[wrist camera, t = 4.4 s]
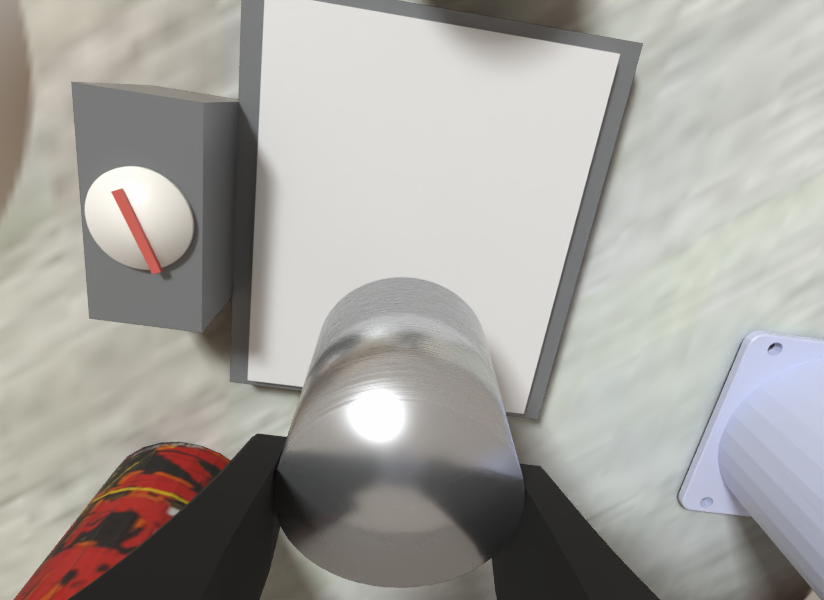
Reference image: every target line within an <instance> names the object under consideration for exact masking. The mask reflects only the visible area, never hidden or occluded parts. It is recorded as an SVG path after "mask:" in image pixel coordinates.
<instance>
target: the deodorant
mask: <svg viewBox="0 0 824 600" xmlns="http://www.w3.org/2000/svg"><path fill="white" fill-rule="evenodd" d="M229 462H230V460H228V459H227V458H225V457H224V456H222V455H221V454H219V453H217V452H215V451H212V450H210V449H207V448H205V447H203V446H199V445H194V444H188V443H183V442H168V443H158V444H155V445H151V446H147V447H143V448H142V449H140V450H138V451H136V452H135V453H133V454H131V455H129V456H128V457H127V458H126V459H125V460H124V461H123V462H122V463H121V464H120V465H119V467H118V468H117V469H116V470H115V471H114V473H113V474H112V475H111V476H110V478H109V479H108V480H107V482H106V483H105V484H104V485H103V487H102V488H101V489H100V490H99V492H98V493H97V494H96V496H95V497H94V498H93V499H92V501H91V502H90V503H89V504H88V506H87V507H86V508H85V509H84V511H83V512H82V513H81V515H80V516H79V517H78V518H77V520H76V521H75V522H74V523H73V525H72V526H71V527H70V529H69V530H68V531H67V532H66V534H65V535H64V536H63V537H62V539H61V540H60V541H59V543H58V544H57V545H56V546H55V548H54V549H53V550H52V551H51V553H50V554H49V555H48V557H47V558H46V559H45V560H44V562H43V563H42V564H41V565H40V567H39V568H38V569H37V571H36V572H35V573H34V574H33V576H32V577H31V578H30V579H29V581H28V582H27V583H26V584H25V586H24V587H23V588H22V590H21V591H20V592H19V593H18V595H17V596H16V597H15V598H14V600H67V599H68V598H70V597H71V596H73V595H74V594H76V593H77V592H79V591H80V590H82V589H83V588H84V587H86V586H87V585H89V584H90V583H91V582H93V581H94V580H95V579H97V578H98V577H99V576H101V575H102V574H103V573H105V572H106V571H107V570H109V569H110V568H111V567H113V566H114V565H115V564H117V563H118V562H119V561H121V560H122V559H123V558H124V557H126V556H127V555H128V554H129V553H131V552H132V551H133V550H134V549H136V548H137V547H138V546H139V545H141V544H142V543H143V542H144V541H145V540H147V539H148V538H149V537H150V536H151V535H152V534H154V533H155V532H156V531H157V530H158V529H159V528H160V527H162V526H163V525H164V524H165V523H166V522H167V521H169V520H170V519H171V518H172V517H173V516H174V515H175V514H177V513H178V512H179V511H180V510H181V509H182V508H183V507H184V506H185V505H187V504H188V503H189V502H190V501H191V500H192V499H193V498H194V497H195V496H196V495H197V494H198V493H199V492H200V491H201V490H202V489H203V488H204V487H205V486H206V485H207V484H208V483H209V482H210V481H211V480H213V479H214V478H215V477H216V475H217V474H218V473H219V472H220V471H221V470H222V469H223V468H224V467H225V466H226V465H227V464H228V463H229Z"/></svg>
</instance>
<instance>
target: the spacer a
mask: <svg viewBox="0 0 824 600" xmlns="http://www.w3.org/2000/svg"><path fill="white" fill-rule="evenodd" d="M524 503H525V487H524V481H523V476H522V472H521V468H520V464H519V461H518V457H517V453H516V450H515V446H514V442H513V438H512V435H511V431H510V427H509V424H508V420H507V416H506V412H505V409H504V405H503V401H502V398H501V394H500V390H499V386H498V383H497V379H496V375H495V372H494V368H493V364H492V360H491V357H490V353H489V349H488V346H487V342H486V338H485V334H484V331H483V328H482V325H481V323H480V321H479V319H478V318H477V316H476V314H475V313H474V312H473V310H472V309H471V307H470V306H469V305H468V304H467V303H466V302H465V301H464V300H463V299H462V298H460V297H459V296H458V295H457V294H455V293H454V292H452V291H450V290H449V289H447V288H445V287H443V286H441V285H439V284H436V283H434V282H430V281H427V280H424V279H418V278H410V277H394V278H386V279H381V280H376V281H373V282H370V283H367V284H365V285H363V286H361V287H358V288H356V289H355V290H353V291H352V292H350V293H349V294H347V295H346V296H345V297H343V298H342V299H341V300H340V301H339V302H338V303H337V304H336V305H335V306H334V307H333V309H332V310H331V311H330V313H329V314H328V316H327V317H326V319H325V321H324V324H323V326H322V328H321V331H320V334H319V338H318V341H317V344H316V347H315V350H314V354H313V357H312V360H311V363H310V366H309V369H308V373H307V376H306V379H305V382H304V385H303V389H302V392H301V395H300V398H299V401H298V404H297V408H296V411H295V414H294V417H293V420H292V423H291V427H290V430H289V433H288V436H287V439H286V443H285V446H284V449H283V452H282V455H281V458H280V462H279V465H278V468H277V471H276V475H275V478H274V484H273V504H274V509H275V513H276V517H277V519H278V521H279V524H280V526H281V528H282V530H283V531H284V533H285V535H286V536H287V538H288V539H289V540H290V542H291V543H292V544H293V545H294V546H295V547H296V548H297V550H299V551H300V552H301V553H302V554H303V555H304V556H305V557H306V558H308V559H309V560H311V561H312V562H313V563H315V564H316V565H318V566H319V567H321V568H323V569H325V570H327V571H329V572H330V573H333V574H335V575H338V576H340V577H342V578H345V579H348V580H351V581H355V582H358V583H363V584H368V585H372V586H381V587H397V588H404V587H419V586H425V585H432V584H436V583H440V582H444V581H448V580H450V579H453V578H456V577H459V576H461V575H464V574H466V573H468V572H470V571H472V570H474V569H476V568H477V567H479V566H481V565H482V564H484V563H485V562H487V561H488V560H489V559H491V558H492V557H493V556H495V555H496V554H497V553H498V552H499V551H500V550H501V549H502V548H503V547H504V546H505V544H506V543H507V542H508V541H509V539H510V538H511V537H512V535H513V533H514V532H515V530H516V528H517V526H518V524H519V521H520V518H521V515H522V513H523V508H524Z"/></svg>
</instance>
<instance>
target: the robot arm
mask: <svg viewBox="0 0 824 600" xmlns="http://www.w3.org/2000/svg"><path fill="white" fill-rule="evenodd" d="M773 343H775V346H774V347H773V348H772V349H770V350H768V348H769V346H770V345H771V344H773ZM286 439H287V437H282V436H273V435H265V434H256V435H255V436H253V437H252V438H251V439H250V440H249V441H248V442H247V443H246V445H245V446H244V447H243V448H242V449H241V450H240V451H239V452H238V453H237V455H236V456H235V457H234V458H233V459H232V460H231V461H230V462H229V463H228V464H227V465H226V466H225V467H224V468H223V469H222V470H221V471H220V472H219V473H218V474H217V475H216V477H215V478H214V479H213V480H211V481H210V482H209V483H208V484H207V485H206V486H205V487H204V488H203V489H202V490H201V491H200V492H199V493H198V494H197V495H196V496H195V497H194V498H193V499H192V500H191V501H190V502H189V503H188V504H187V505H185V506H184V507H183V508H182V509H181V510H180V511H179V512H178V513H177V514H175V515H174V516H173V517H172V518H171V519H170V520H169V521H167V522H166V523H165V524H164V525H163V526H162V527H160V528H159V529H158V530H157V531H156V532H155V533H154V534H152V535H151V536H150V537H149V538H148V539H147V540H145V541H144V542H143V543H142V544H141V545H139V546H138V547H137V548H136V549H134V550H133V551H132V552H131V553H129V554H128V555H127V556H126V557H124V558H123V559H122V560H121V561H119V562H118V563H117V564H115V565H114V566H113V567H111V568H110V569H109V570H107V571H106V572H105V573H103V574H102V575H101V576H99V577H98V578H97V579H95V580H94V581H93V582H91V583H90V584H89V585H87V586H86V587H84V588H83V589H82V590H80V591H79V592H77V593H76V594H74V595H73V596H71V597H70V598H68V599H67V600H259V599H260V596H261V593H262V590H263V588H264V585H265V582H266V579H267V576H268V573H269V570H270V567H271V562H272V558H273V554H274V550H275V546H276V542H277V538H278V533H279V529H280V524H279V521H278V519H277V517H276V513H275V509H274V504H273V484H274V478H275V475H276V471H277V468H278V465H279V462H280V458H281V455H282V452H283V449H284V446H285V443H286ZM520 468H521V472H522V476H523V481H524V487H525V503H524V508H523V513H522V515H521V518H520V521H519V524H518V526H517V528H516V530H515V532H514V533H513V535H512V537H511V538H510V539H509V541H508V542H507V543H506V544H505V546H504V547H503V548H502V549H501V550H500V551H499V552H498V553H497V554H496V555H495V556H493V557H492V565H493V574H494V583H495V592H496V596H497V600H660V599H659V598H658V597H657V596H656V595H655V594H654V593H653V592H652V591H651V590H650V589H649V588H648V587H647V586H646V585H645V584H644V583H643V582H642V581H641V580H640V579H639V578H638V577H637V576H636V575H635V574H634V573H633V572H632V571H631V570H630V569H629V568H628V566H627V565H626V564H625V563H624V562H623V561H622V560H621V559H620V558H619V557H618V556H617V555H616V554H615V552H614V551H613V550H612V549H611V548H610V547H609V546H608V545H607V544H606V542H605V541H604V540H603V539H602V538H601V537H600V536H599V535H598V533H597V532H596V531H595V530H594V529H593V528H592V527H591V525H590V524H589V523H588V522H587V521H586V520H585V518H584V517H583V516H582V515H581V514H580V513H579V511H578V510H577V509H576V508H575V507H574V505H573V504H572V503H571V502H570V501H569V499H568V498H567V497H566V496H565V495H564V493H563V492H562V491H561V490H560V489H559V487H558V486H557V485H556V484H555V483H554V482H553V480H552V479H551V478H550V477H549V476H548V474H547V473H546V472H545V471H544V470H543V469H542V468H541V467H540V466H534V465H525V464H520ZM678 498H679V501H680V503H681V504H682V505H683V507H684V508H686V509H689V510H695V511H704V512H713V513H722V514H731V515H740V516H749V517H753V518H754V520H755V521H756V522H757V523H758V524H759V526H760V527H761V528H762V529H763V530H764V532H765V533H766V534H767V535H768V536H769V538H770V539H771V540H772V541H773V542H774V544H775V545H776V546H777V547H778V548H779V550H780V551H781V552H782V553H783V554H784V556H785V557H786V558H787V559H788V560H789V562H790V563H791V564H792V565H793V566H794V568H795V569H796V570H797V571H798V572H799V574H800V575H801V576H802V577H803V578H804V580H805V581H806V582H807V583H808V584H809V586H810V587H811V588H812V589H813V590H814V592H815V593H816V594H817V595H818V596H819V598H820V599H821V600H824V339H818V338H811V337H803V336H796V335H789V334H782V333H774V332H767V331H754V332H752V333H750V334H749V335H747V336H746V337H745V339H744V340H743V342H742V344H741V347H740V349H739V352H738V354H737V356H736V359H735V361H734V364H733V366H732V368H731V371H730V373H729V375H728V378H727V380H726V383H725V385H724V387H723V390H722V392H721V395H720V397H719V399H718V402H717V404H716V406H715V409H714V411H713V414H712V416H711V418H710V421H709V423H708V425H707V428H706V430H705V433H704V435H703V437H702V440H701V442H700V445H699V447H698V449H697V452H696V454H695V456H694V459H693V461H692V464H691V466H690V468H689V471H688V473H687V476H686V478H685V480H684V483H683V485H682V487H681V490H680V492H679V496H678ZM704 498H706V499H704ZM702 499H704V500H702Z"/></svg>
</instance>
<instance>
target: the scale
mask: <svg viewBox="0 0 824 600" xmlns="http://www.w3.org/2000/svg"><path fill="white" fill-rule="evenodd" d="M642 46H643V43H638V42H632V41H626V40H621V39H615V38H609V37H604V36H598V35H592V34H587V33H581V32H575V31H569V30H564V29H558V28H552V27H547V26H541V25H535V24H530V23H524V22H518V21H513V20H507V19H501V18H496V17H490V16H484V15H479V14H473V13H467V12H462V11H456V10H450V9H444V8H439V7H433V6H427V5H422V4H416V3H410V2H405V1H399V0H242V1H241V34H240V66H239V99H232V98H226V97H220V96H213V95H207V94H201V93H195V92H188V91H182V90H176V89H169V88H163V87H157V86H151V85H131V84H109V83H87V82H71V83H72V97H73V110H74V123H75V136H76V150H77V163H78V176H79V189H80V202H81V216H82V229H83V242H84V255H85V268H86V282H87V295H88V308H89V319H97V320H105V321H113V322H121V323H129V324H136V325H144V326H152V327H160V328H168V329H176V330H183V331H191V332H199V333H202V332H203V331H204V329H205V328H206V327H207V326H208V325H209V324H210V322H211V321H212V320H213V319H214V318H215V317H216V315H217V314H218V313H219V312H220V311H221V309H222V308H223V307H224V306H225V305H226V304H227V302H228V301H229V300H230V299H231V298H232V327H231V360H230V382H235V383H243V384H251V385H260V386H268V387H276V388H284V389H292V390H301V391H302V389H303V385H304V382H305V379H306V376H307V373H308V369H309V366H310V363H311V360H312V357H313V354H314V350H315V347H316V344H317V341H318V338H319V334H320V331H321V328H322V326H323V324H324V321H325V319H326V317H327V316H328V314H329V313H330V311H331V310H332V309H333V307H334V306H335V305H336V304H337V303H338V302H339V301H340V300H341V299H342V298H343V297H345V296H346V295H347V294H349V293H350V292H352V291H353V290H355V289H356V288H358V287H361V286H363V285H365V284H367V283H370V282H373V281H376V280H381V279H386V278H394V277H410V278H418V279H424V280H427V281H430V282H434V283H436V284H439V285H441V286H443V287H445V288H447V289H449V290H450V291H452V292H454V293H455V294H457V295H458V296H459V297H460V298H462V299H463V300H464V301H465V302H466V303H467V304H468V305H469V306H470V307H471V309H472V310H473V312H474V313H475V314H476V316H477V318H478V319H479V321H480V323H481V325H482V328H483V331H484V334H485V338H486V342H487V346H488V349H489V353H490V357H491V360H492V364H493V368H494V372H495V375H496V379H497V383H498V386H499V390H500V394H501V398H502V401H503V405H504V409H505V412H506V416H515V417H523V418H531V419H538V417H539V413H540V409H541V406H542V402H543V399H544V395H545V392H546V388H547V385H548V381H549V377H550V374H551V370H552V367H553V363H554V360H555V356H556V352H557V349H558V345H559V342H560V338H561V335H562V331H563V327H564V324H565V320H566V317H567V313H568V310H569V306H570V302H571V299H572V295H573V292H574V288H575V285H576V281H577V277H578V274H579V270H580V267H581V263H582V260H583V256H584V253H585V249H586V245H587V242H588V238H589V235H590V231H591V228H592V224H593V220H594V217H595V213H596V210H597V206H598V203H599V199H600V195H601V192H602V188H603V185H604V181H605V178H606V174H607V170H608V167H609V163H610V160H611V156H612V153H613V149H614V146H615V142H616V138H617V135H618V131H619V128H620V124H621V121H622V117H623V113H624V110H625V106H626V103H627V99H628V96H629V92H630V88H631V85H632V81H633V78H634V74H635V71H636V67H637V63H638V60H639V56H640V53H641V49H642Z"/></svg>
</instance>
